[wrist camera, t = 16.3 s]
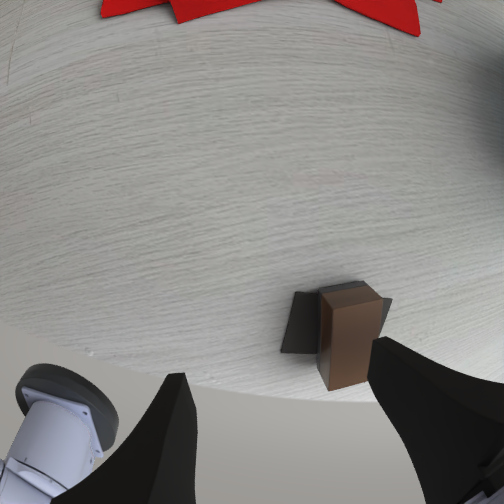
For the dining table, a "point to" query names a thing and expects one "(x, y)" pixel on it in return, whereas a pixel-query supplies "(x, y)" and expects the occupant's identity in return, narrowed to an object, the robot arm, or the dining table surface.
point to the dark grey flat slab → (310, 324)
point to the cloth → (204, 3)
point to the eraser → (346, 332)
